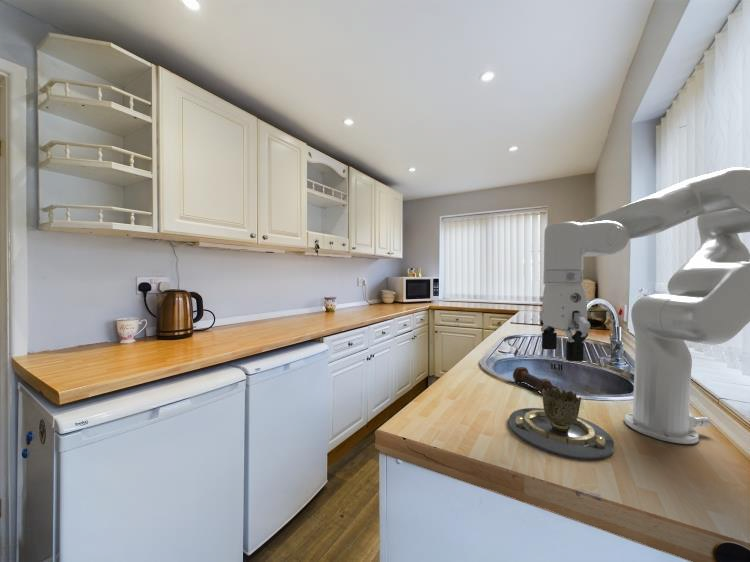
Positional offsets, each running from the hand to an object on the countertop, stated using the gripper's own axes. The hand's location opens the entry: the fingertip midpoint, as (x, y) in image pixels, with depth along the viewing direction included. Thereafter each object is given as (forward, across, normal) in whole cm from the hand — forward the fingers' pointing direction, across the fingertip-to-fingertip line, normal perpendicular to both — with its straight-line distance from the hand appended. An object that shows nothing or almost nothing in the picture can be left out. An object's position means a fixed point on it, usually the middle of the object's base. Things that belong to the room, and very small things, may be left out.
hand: (560, 354), depth 68 cm
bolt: (+18, +26, -8) cm, 33 cm away
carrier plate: (+18, 0, 0) cm, 18 cm away
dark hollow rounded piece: (+17, -1, 0) cm, 17 cm away
